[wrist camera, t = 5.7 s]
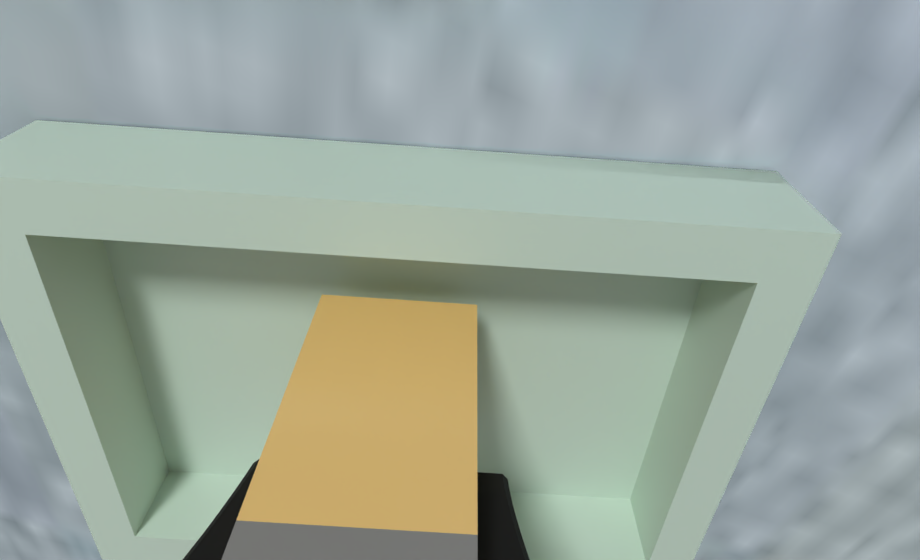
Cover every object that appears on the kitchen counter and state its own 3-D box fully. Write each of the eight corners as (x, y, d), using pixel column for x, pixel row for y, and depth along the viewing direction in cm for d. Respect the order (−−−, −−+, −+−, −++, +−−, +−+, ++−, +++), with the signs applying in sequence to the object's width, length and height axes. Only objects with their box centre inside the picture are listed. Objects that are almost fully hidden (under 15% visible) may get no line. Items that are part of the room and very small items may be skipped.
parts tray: (776, 171, 12) (842, 233, 10) (653, 506, 17) (678, 593, 15) (36, 120, 12) (-62, 172, 9) (148, 475, 17) (102, 559, 15)
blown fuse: (477, 304, 12) (478, 615, 7) (463, 448, 14) (455, 763, 9) (321, 294, 12) (207, 598, 7) (331, 439, 14) (249, 753, 9)
